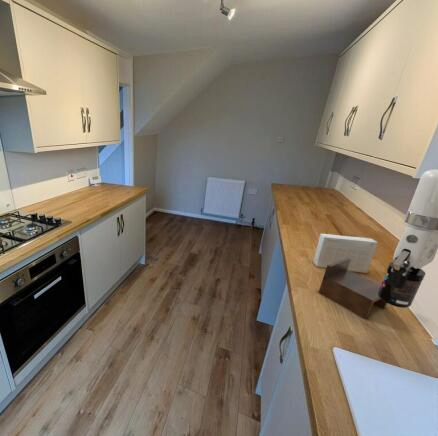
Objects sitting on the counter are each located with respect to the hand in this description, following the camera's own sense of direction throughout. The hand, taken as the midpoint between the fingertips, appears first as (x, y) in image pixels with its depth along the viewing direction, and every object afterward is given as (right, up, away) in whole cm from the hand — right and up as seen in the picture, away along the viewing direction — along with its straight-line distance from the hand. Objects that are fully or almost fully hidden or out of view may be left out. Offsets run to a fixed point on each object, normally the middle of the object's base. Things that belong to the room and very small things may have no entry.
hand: (401, 281), depth 64 cm
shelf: (+11, -15, +29) cm, 34 cm away
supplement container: (0, -6, +2) cm, 6 cm away
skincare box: (+24, -7, +51) cm, 57 cm away
